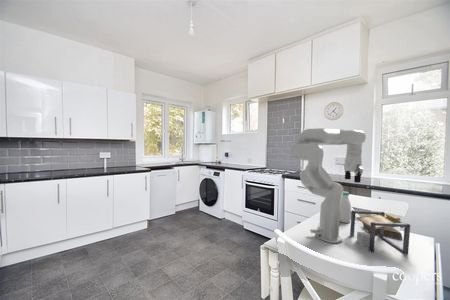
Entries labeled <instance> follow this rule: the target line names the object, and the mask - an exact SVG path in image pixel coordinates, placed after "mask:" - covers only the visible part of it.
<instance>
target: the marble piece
mask: <svg viewBox="0 0 450 300" xmlns="http://www.w3.org/2000/svg"><path fill="white" fill-rule="evenodd" d="M362 225H363V229H364V230H366V232H367V233H369V234H370V227H369V226H367V225H365V224H364V223H362ZM376 235H377V236H379V229H375V236H376ZM383 236H384V237H386V238H391V237H392V238H391V239H395V238H397V239H396V240H402V239H403V235H402V232H401V231H399V230H397V229H396V228H395V227H391V228H384V233H383Z"/></svg>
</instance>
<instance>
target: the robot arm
mask: <svg viewBox="0 0 450 300" xmlns="http://www.w3.org/2000/svg"><path fill="white" fill-rule="evenodd" d="M366 139H367V135H366V133H365V132H364V131H363V130H357V129H353V130H352V129H340V128H339V129H338V128H320V127H317V128H306V129H304V130H302V131H301V133H300V134H299V135H298V136H297V137H296V138H295V140H294V141H293V142H292V143H291V145H290V147H289V151H288V153H289V155H290V158H291V159H294V160H301V161H308V162H307V165H306V166H305V169H303V170H301V172H300V174H299V175H300V176H299V178H300V179H299V180H300V182H301V184H302V185H303V186H304V187H305V188H306V189H307V190H308V191H309V192H310V193H311V194H313V195H316V196H319V197H323V198H324V199H323V201H322V202H321V204H320V212H319V226H317V228H315V229H314V228H310V233H312V234H314V235H315V237H317V239H319V240H321V241H323V242H326V243H330V244H340V243H342V241H343V238H342V237H341V236H340V221H339V220H340V205H341V199H342V195H343V191H344V187H343V185H342V184H341V183H339V182H336V181H334V180H333V179H332V177H331V176H330V174H329V173H328V172H327V171H326V169H325V168H324V167H323V159H324V149H323V147H322V146H332V145H333V146H335V145H336V146H343V145H346V153H345V159H344V164H343V169H344V180H351V175H352V173H354V183H356V184H357V183H361V181H362V180H361V177H362V174H363V172H364V168H363V167H362V166H363V165H362V152H363V151H362V149H363V148H362V147H363V144H364V143H365V141H366ZM351 172H352V173H351Z"/></svg>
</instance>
